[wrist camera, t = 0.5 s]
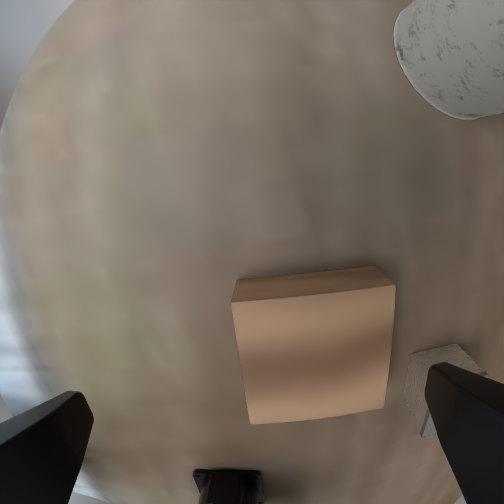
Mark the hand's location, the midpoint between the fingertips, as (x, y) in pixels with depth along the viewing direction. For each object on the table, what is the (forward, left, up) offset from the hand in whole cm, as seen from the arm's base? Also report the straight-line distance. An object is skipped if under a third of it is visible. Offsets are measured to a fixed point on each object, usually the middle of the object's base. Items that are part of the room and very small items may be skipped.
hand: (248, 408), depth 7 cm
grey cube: (-11, -13, -14) cm, 22 cm away
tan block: (-6, -3, -14) cm, 15 cm away
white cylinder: (+13, -15, -14) cm, 24 cm away
